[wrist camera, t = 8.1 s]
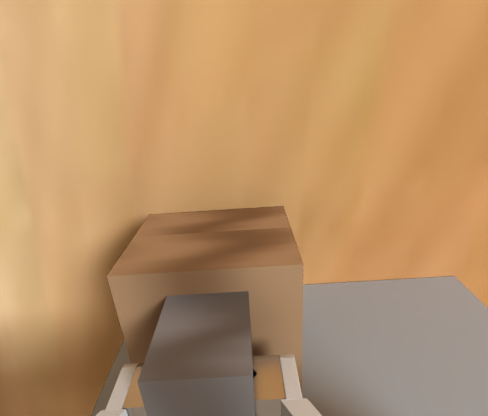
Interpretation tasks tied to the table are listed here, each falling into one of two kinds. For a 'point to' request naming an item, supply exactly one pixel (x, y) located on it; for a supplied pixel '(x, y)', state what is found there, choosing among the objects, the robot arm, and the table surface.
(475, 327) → the wall board
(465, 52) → the table surface
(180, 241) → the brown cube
